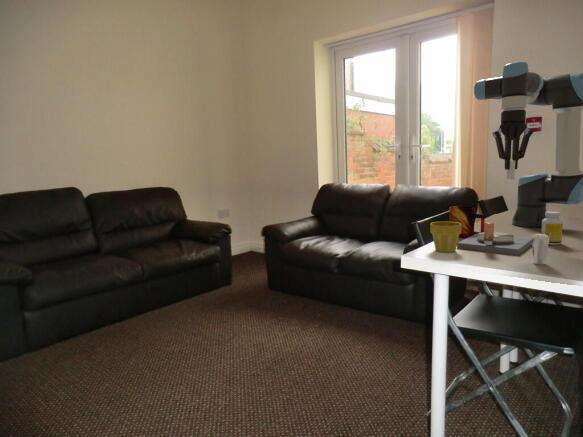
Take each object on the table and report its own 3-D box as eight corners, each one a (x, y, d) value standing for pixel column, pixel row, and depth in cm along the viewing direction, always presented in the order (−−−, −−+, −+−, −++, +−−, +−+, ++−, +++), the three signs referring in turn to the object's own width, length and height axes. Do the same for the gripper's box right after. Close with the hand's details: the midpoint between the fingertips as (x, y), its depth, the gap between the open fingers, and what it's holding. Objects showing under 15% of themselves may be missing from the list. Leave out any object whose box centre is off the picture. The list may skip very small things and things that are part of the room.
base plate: (475, 239, 168) (475, 233, 167) (532, 244, 155) (532, 238, 154) (456, 248, 153) (457, 242, 152) (518, 255, 140) (518, 248, 139)
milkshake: (543, 266, 125) (545, 233, 124) (527, 262, 130) (528, 230, 129) (554, 264, 127) (555, 232, 126) (537, 261, 132) (539, 229, 130)
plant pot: (424, 251, 149) (425, 224, 148) (436, 246, 157) (437, 220, 155) (454, 255, 142) (455, 226, 141) (465, 249, 150) (466, 222, 149)
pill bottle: (564, 245, 152) (566, 213, 150) (544, 245, 153) (546, 213, 152) (557, 241, 158) (559, 211, 157) (538, 241, 160) (539, 211, 158)
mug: (483, 239, 166) (485, 209, 164) (446, 237, 173) (447, 208, 171) (486, 235, 174) (487, 206, 172) (451, 233, 181) (451, 205, 179)
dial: (481, 236, 162) (482, 216, 161) (516, 239, 154) (517, 218, 153) (468, 244, 148) (469, 222, 147) (506, 248, 141) (507, 225, 140)
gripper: (528, 110, 148) (524, 178, 151) (489, 112, 149) (487, 179, 153) (538, 108, 141) (535, 179, 144) (498, 109, 142) (495, 180, 145)
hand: (510, 179), depth 148 cm, fingers closed
